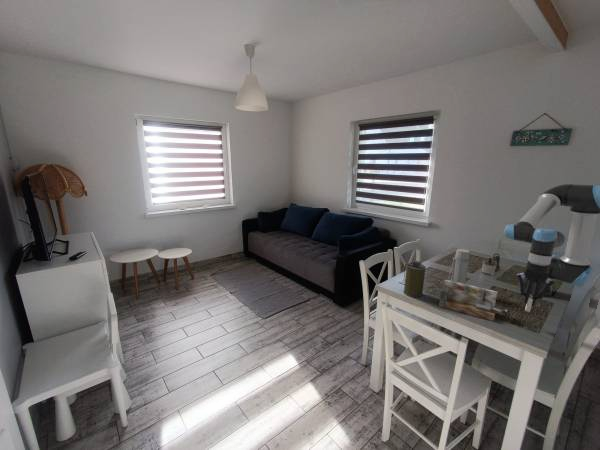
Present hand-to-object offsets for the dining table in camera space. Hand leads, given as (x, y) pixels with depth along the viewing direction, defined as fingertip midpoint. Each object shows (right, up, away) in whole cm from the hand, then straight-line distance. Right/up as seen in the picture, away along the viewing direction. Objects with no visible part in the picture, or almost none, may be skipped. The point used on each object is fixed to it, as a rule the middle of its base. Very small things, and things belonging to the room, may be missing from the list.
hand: (527, 310), depth 124 cm
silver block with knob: (-11, -4, +9) cm, 14 cm away
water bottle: (-12, +1, +37) cm, 39 cm away
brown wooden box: (-19, -4, +15) cm, 25 cm away
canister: (-41, -1, +31) cm, 51 cm away
